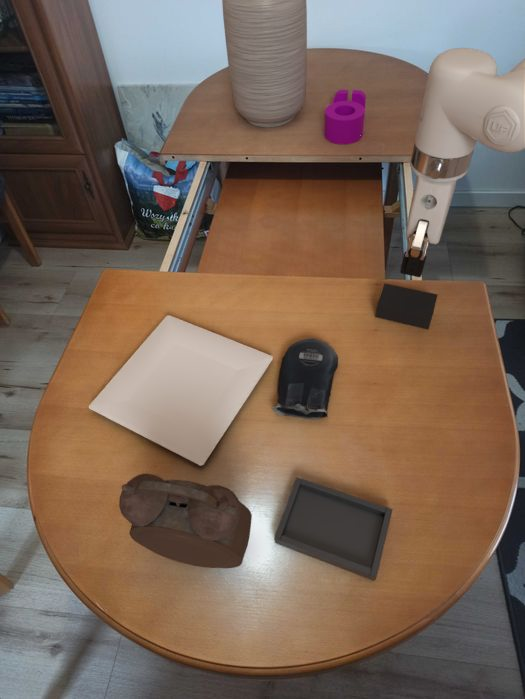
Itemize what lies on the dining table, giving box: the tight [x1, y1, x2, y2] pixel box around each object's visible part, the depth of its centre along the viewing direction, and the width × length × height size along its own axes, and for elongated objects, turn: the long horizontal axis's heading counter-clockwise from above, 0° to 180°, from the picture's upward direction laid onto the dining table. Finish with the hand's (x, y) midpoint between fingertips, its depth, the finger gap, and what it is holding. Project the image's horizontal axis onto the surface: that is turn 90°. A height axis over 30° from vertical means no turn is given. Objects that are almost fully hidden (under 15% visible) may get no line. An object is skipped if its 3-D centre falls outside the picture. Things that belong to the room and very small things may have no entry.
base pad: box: [273, 476, 393, 582], centre depth 67 cm, size 14×9×2 cm
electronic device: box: [271, 337, 339, 420], centre depth 81 cm, size 9×6×15 cm
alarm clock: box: [118, 473, 253, 569], centre depth 60 cm, size 15×7×20 cm, turn 78°
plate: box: [88, 314, 274, 466], centre depth 83 cm, size 22×22×2 cm
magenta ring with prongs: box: [323, 89, 367, 145], centre depth 129 cm, size 16×10×6 cm, turn 166°
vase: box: [221, 0, 308, 128], centre depth 125 cm, size 20×20×34 cm
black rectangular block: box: [374, 282, 438, 330], centre depth 89 cm, size 10×6×4 cm, turn 68°
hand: (416, 253), depth 79 cm, fingers open, 9 cm apart
